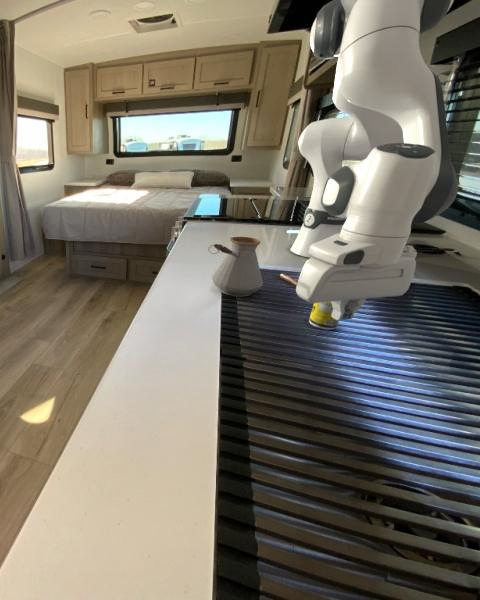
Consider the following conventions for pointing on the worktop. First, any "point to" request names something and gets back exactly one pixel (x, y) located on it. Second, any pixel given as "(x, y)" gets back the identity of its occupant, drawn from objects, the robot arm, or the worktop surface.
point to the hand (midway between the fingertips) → (341, 318)
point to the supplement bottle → (323, 316)
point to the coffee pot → (238, 268)
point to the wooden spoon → (288, 279)
